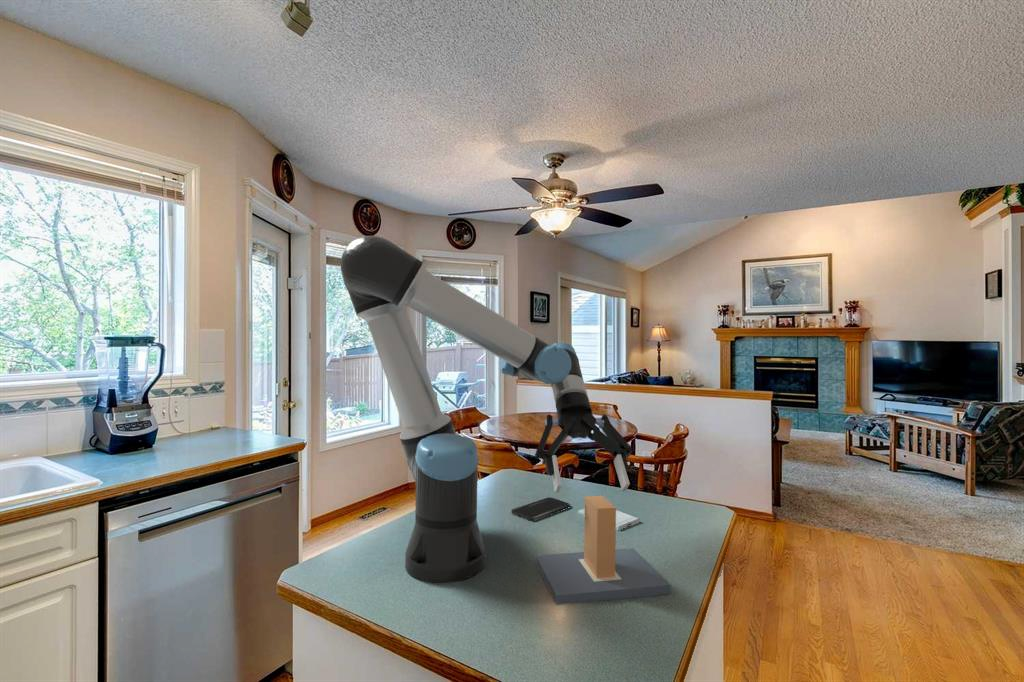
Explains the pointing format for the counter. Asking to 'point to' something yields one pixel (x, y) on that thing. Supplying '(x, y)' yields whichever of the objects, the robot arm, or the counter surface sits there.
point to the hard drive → (620, 519)
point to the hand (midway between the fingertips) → (592, 488)
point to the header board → (579, 584)
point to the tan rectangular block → (600, 536)
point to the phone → (540, 509)
